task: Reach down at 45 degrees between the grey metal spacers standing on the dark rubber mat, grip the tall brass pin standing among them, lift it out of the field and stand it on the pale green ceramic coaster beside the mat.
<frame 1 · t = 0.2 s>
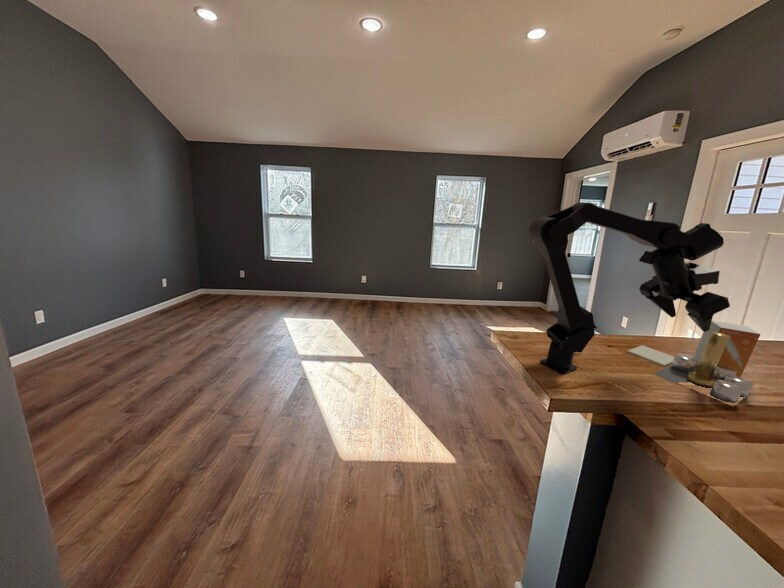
hand: (689, 323, 79), 14 cm above the worktop, tool tilted 35°, fingers open, 9 cm apart
small box: (714, 371, 87), on the worktop
mat: (701, 383, 80), on the worktop
coaster: (652, 356, 92), on the worktop
spacers: (702, 381, 79), resting on mat
brass pin: (700, 382, 79), resting on mat
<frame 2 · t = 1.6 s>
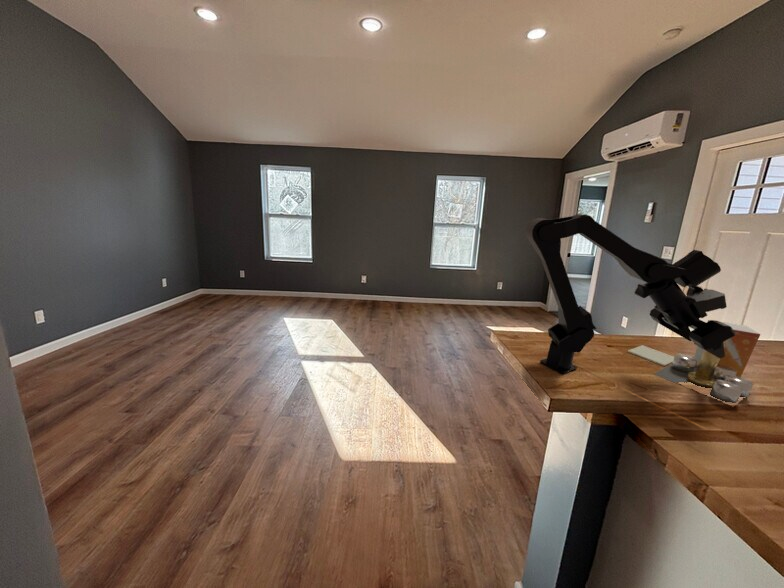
hand: (706, 348, 76), 10 cm above the worktop, tool tilted 45°, fingers open, 9 cm apart
nothing on the worktop moved.
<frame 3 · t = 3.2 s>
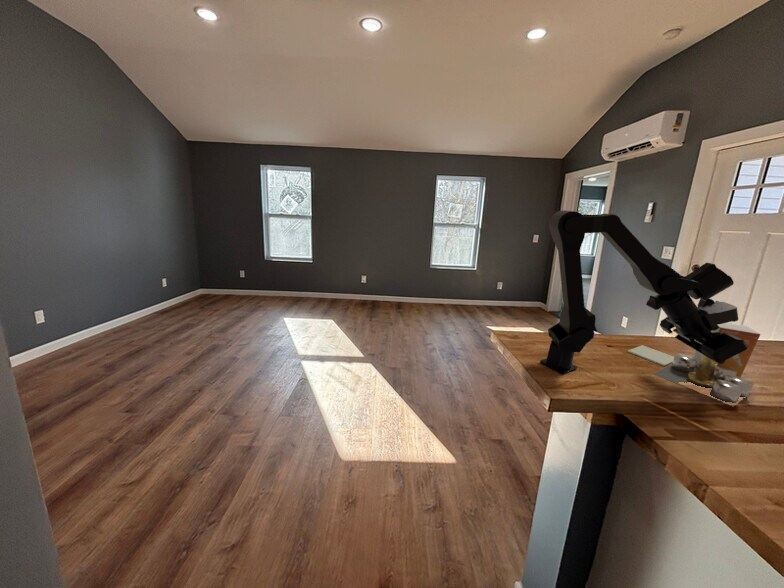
hand: (716, 359, 77), 7 cm above the worktop, tool tilted 45°, fingers closed on brass pin, 3 cm apart
brass pin: (700, 382, 79), resting on mat, touching gripper
everything else where it was.
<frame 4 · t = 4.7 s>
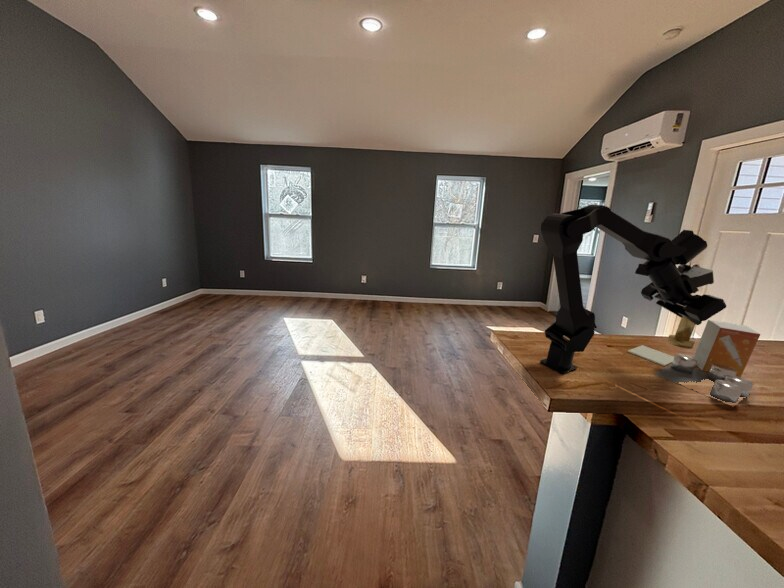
hand: (693, 321, 83), 13 cm above the worktop, tool tilted 45°, fingers closed on brass pin, 3 cm apart
brass pin: (679, 344, 85), point 7 cm above the worktop, touching gripper
everything else where it was.
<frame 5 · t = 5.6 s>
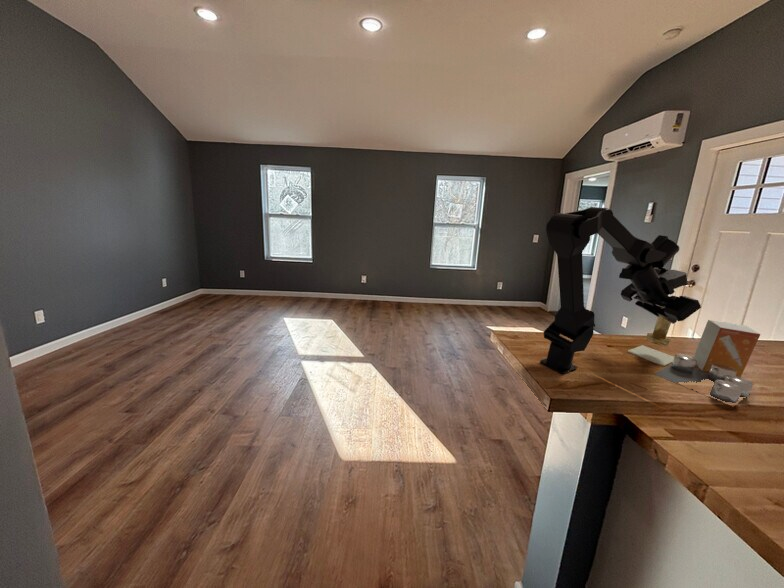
hand: (668, 320, 89), 11 cm above the worktop, tool tilted 45°, fingers closed on brass pin, 3 cm apart
brass pin: (657, 341, 91), point 5 cm above the worktop, touching gripper
everything else where it was.
when the fingers open (8 cm above the worktop, at t = 6.3 s): brass pin stays where it is, resting on coaster.
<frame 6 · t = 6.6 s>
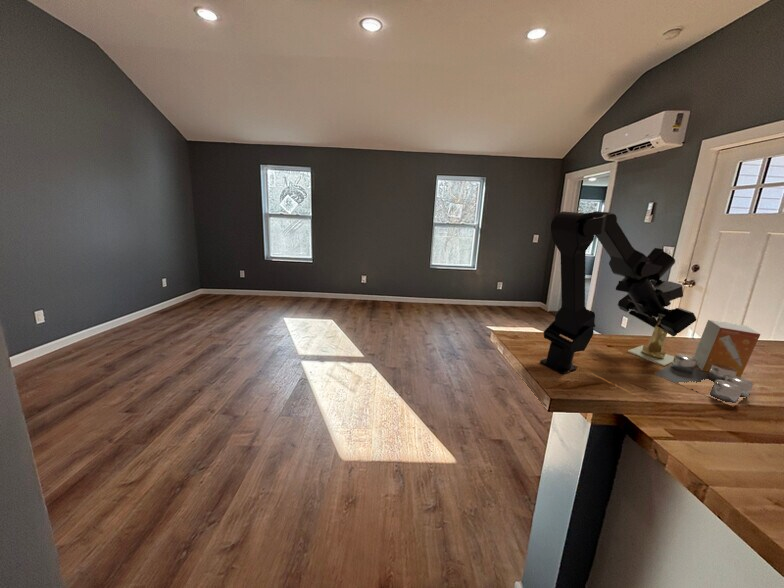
hand: (665, 331, 90), 8 cm above the worktop, tool tilted 45°, fingers open, 5 cm apart
brass pin: (652, 354, 92), point 1 cm above the worktop, touching coaster
everything else where it was.
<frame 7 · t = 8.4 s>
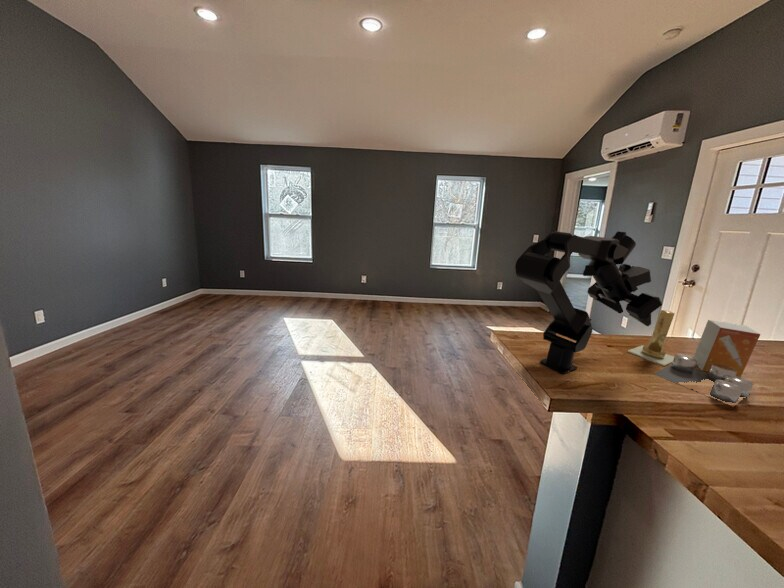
hand: (634, 318, 87), 12 cm above the worktop, tool tilted 45°, fingers open, 9 cm apart
nothing on the worktop moved.
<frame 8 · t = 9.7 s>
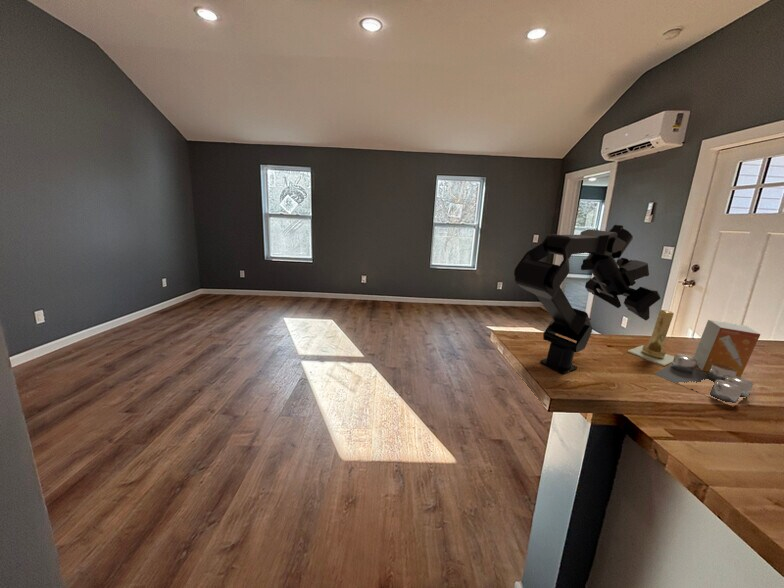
hand: (632, 312, 86), 14 cm above the worktop, tool tilted 45°, fingers open, 9 cm apart
nothing on the worktop moved.
at the end: brass pin inside the target area on the coaster (0.1 cm from its centre), point 0.8 cm above the coaster's base; brass pin tilted 1°; the gripper is holding nothing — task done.
